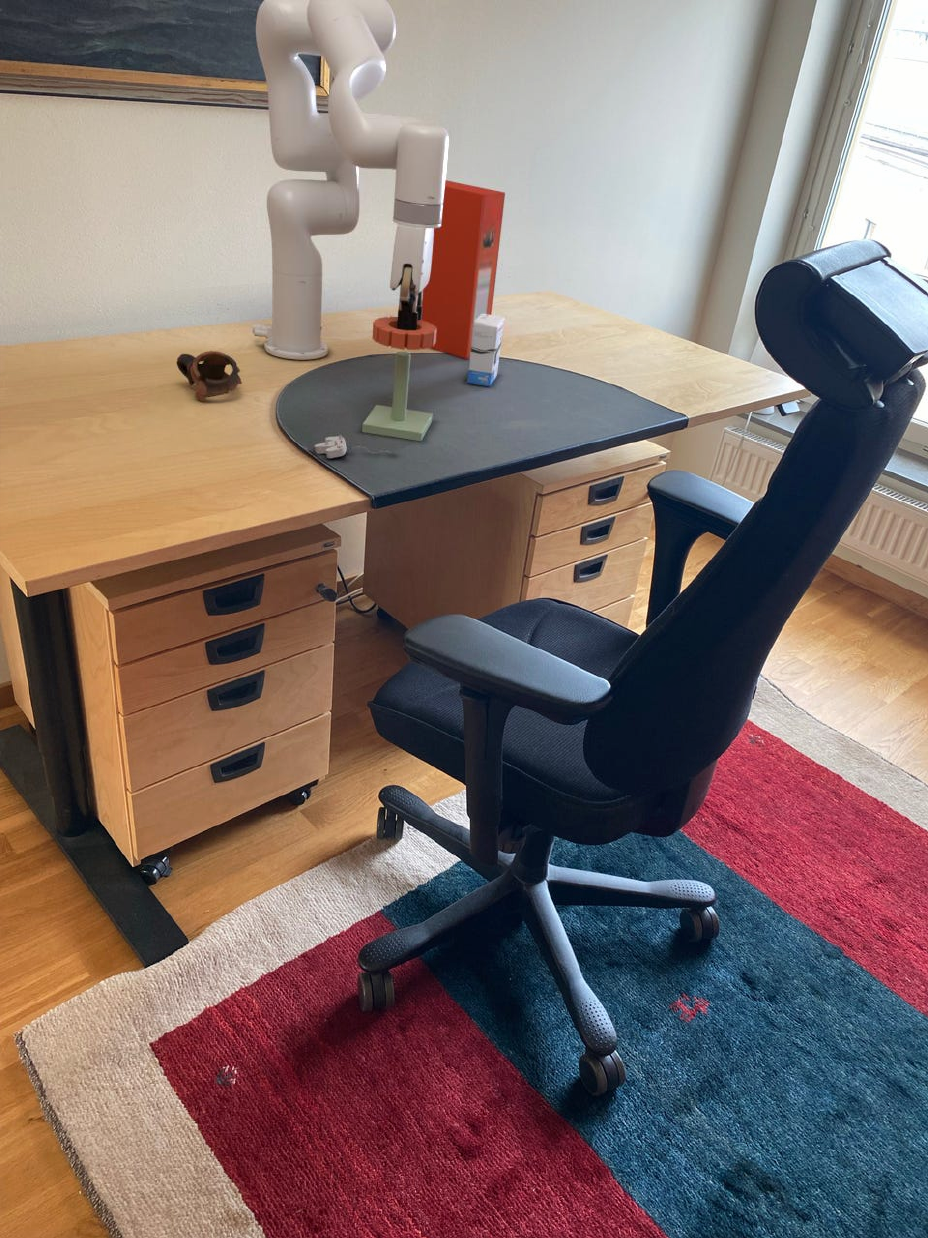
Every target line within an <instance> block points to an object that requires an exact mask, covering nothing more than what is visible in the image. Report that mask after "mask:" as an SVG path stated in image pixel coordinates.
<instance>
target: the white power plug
mask: <svg viewBox="0 0 928 1238" xmlns="http://www.w3.org/2000/svg"><path fill="white" fill-rule="evenodd" d="M357 447H358V448H361V446H354V447H353V449H355V448H357ZM363 448H365V449H366V450H367V452H369V450H368V448H367V447H365V446H364V447H363ZM314 450H315V454H318V455H320V454H325V455H326V458H327V459H333V458H339V457H343V456H345V455H346V453H347V451H348V447H347V442H346V439H345V438H344V437H343V436H342V434H339V435H338V436H337V435H336V436H327V437H325V439H324V442H320V443H316V444H314ZM381 452H382V450H380V451H379V452H377V454H379V453H381ZM386 452H388V453H391V456H392V455H393V454H392V452H390V451H387V450H386ZM371 453H372V454H374V451H373V452H372V451H371Z"/></svg>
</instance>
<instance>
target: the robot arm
mask: <svg viewBox="0 0 928 1238" xmlns="http://www.w3.org/2000/svg"><path fill="white" fill-rule="evenodd" d="M256 14H257V15H256V21H255V38H256V46H257V50H258V56H259V58H260V62H261V65H262V68H263V72H264V77H265V81H266V88H267V104H268V117H269V118H268V119H269V133H270V135H269V136H270V145H271V146H270V147H271V153H272V157H273V160H274V162H275V164H276V165H277V166H278V167H279V168H281V169H283V170H286V171H292V172H306V173H307V172H308V173H325V177H326V180H325V179H303V178H295V179H294V178H293V179H291V178H289V179H284V180H279V181H277V182H276V183H274V184H273V185H272V186H271V187H270V188H269V190H268V192H267V195H266V196H267V197H266V211H267V217H268V224H269V230H270V238H271V270H272V271H271V272H272V273H271V275H272V276H271V280H272V281H271V284H272V285H271V286H272V287H271V289H272V293H271V296H272V297H271V299H272V301H271V303H272V304H271V305H272V306H271V307H272V309H271V311H272V312H271V314H272V316H271V318H272V319H271V320H272V321H271V322H272V323H271V324H268V325H264V324H261V323H253V324H252V334H254V337H260V338H261V337H262V338H265V339H266V340H265V342H264V344H263V349H264V351H265V352H266V353H268V354H269V355H272V356H274V357H277V358H281V359H286V360H287V359H288V360H298V361H307V360H317V359H320V358H323V357H324V358H325V356H326V355H328V353H329V346H328V345H327V344H326V343H325V342H323V341H321V340H322V339H321V338H322V337H321V335H322V301H323V300H322V298H323V297H322V296H323V259H322V255H321V254H320V251H319V250H318V249H317V247H316V245H315V243H314V241H313V240H312V237H313V236H314V237H315V236H340V235H347V234H349V233H352V232H353V231H354V230H355V229H356V227H357V225H358V222H359V218H360V176H359V175H360V174H359V173H360V171H359V168H361V169H368V170H369V169H370V170H373V169H374V170H376V169H377V170H395V180H394V181H395V184H394V200H393V216H392V222H393V223H395V224H397V225H396V230H395V231H396V232H395V236H394V243H393V252H392V262H391V271H390V280H389V281H390V282H389V288H390V289H391V291H396V290H397V289H398V288H400V289H399V299H398V310H397V317H398V320H397V329H401V330H417V322H418V320H421V318H422V307H419V306H422V300H423V289H424V288H425V287H426V285H427V284H428V282H429V279H430V273H431V264H432V253H433V239H434V228H439V227H441V221H442V210H443V199H444V188H445V180H446V179H447V178H446V177H447V168H448V167H447V165H448V154H449V146H450V145H449V144H450V143H449V142H450V137H449V133H448V131H447V130H446V128H445V127H443V126H441V125H437V124H432V123H427V121H424V120H423V119H421V118H420V117H419V118H418V117H415V116H411V115H409V116H408V115H396V114H386V113H385V114H384V113H383V114H382V113H368V112H363V111H362V110H361V108H360V107H359V105H358V103H357V102H358V101H360V100H363V99H365V98H366V97H368V96H370V95H371V94H373V93H374V92H375V91H377V89H378V88H379V87H380V86H381V84H382V83H383V81H384V79H385V76H386V72H387V62H386V59H385V56H384V55H383V54H386V53H387V52H388V51H389V50H391V48H392V46H393V44H394V42H395V39H396V33H397V22H396V17H395V14H394V12H393V9H392V7H391V5H390V4H389V2H388V1H387V0H263V1H262V3H260V5H259V8H258V11H257V13H256ZM299 55H307V56H315V57H323V59H324V61H325V63H326V65H327V68H328V69H329V71H330V73H331V75H332V77H333V79H334V80H333V82H332V84H331V86H330V89H329V94H328V101H327V113H328V114H319V112H318V107H317V89H316V85H315V81H314V78H313V76H312V75H311V73H310V71H309V69H308V67H307V65H306V64H305V63H304V61H303V60H302V59H301V57H300V56H299Z"/></svg>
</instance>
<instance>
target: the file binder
mask: <svg viewBox="0 0 928 1238" xmlns="http://www.w3.org/2000/svg"><path fill="white" fill-rule="evenodd" d="M505 197H506V192H504V191H500V190H495V189H490V188H486V187H485V188H484V187H481V186H475V185H472V184H466V183H462V182H456V181H451V180H447V179H445V188H444V199H443V210H442V221H441V227H439V228H434V239H433V253H432V264H431V273H430V279H429V282H428V284H427V285H426V287H425V288H424V289H423V300H422V306H419V307H422V318H421V320H422V321H425V322H428V323H430V324H433V325H434V326H435V327H436V329H437V332H436V342H435V344H434V346H433V347H431V348H430V349H431V350H435V351H439V352H442V353H444V354H448V355H451V356H455V357H458V358H461V359H464V360H469V359H470V351H471V342H472V333H473V324H474V321H475V320H476V319H477V317H479V315H481V314H488V315H492V313H493V306H494V305H493V303H494V295H495V288H496V287H495V286H496V277H497V269H498V259H499V249H500V244H501V243H500V241H501V234H502V224H503V214H504V206H505Z"/></svg>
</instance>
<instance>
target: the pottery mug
mask: <svg viewBox="0 0 928 1238" xmlns="http://www.w3.org/2000/svg"><path fill="white" fill-rule="evenodd" d="M201 362H202V363H201ZM227 366H231V369H232V371H231V373H227V372H226V367H227ZM176 367H177V369H178V370H179V372H180V373H181V375H183V376H184V377H185V378H186V379H187V381H188V384H189V386H193V385H195V386H196V389H195V392H194V395H195V398H196V399H197V400H199V401H201V402H205V400H206V399H207V398H214V397H217V396H222V395H227V394H229V393H230V391H233V390H235V388H236V387H237V386H238V385H242V384H243V382H242V379H241V377H240V375H239V373H240V372H241V370H240V368H239V367H238V366H237V362H236V361H235V359H233V358H232V357H231V356H230V355H228V354H226V353H224V352H221V351H214V350H208V351H204V352H202V353H200V354H197V356H194V355H192V354H189V353H181V354H180V355H179V356H178V357H177V358H176Z"/></svg>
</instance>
